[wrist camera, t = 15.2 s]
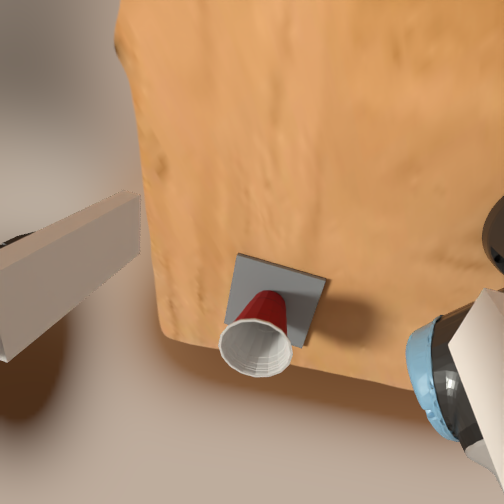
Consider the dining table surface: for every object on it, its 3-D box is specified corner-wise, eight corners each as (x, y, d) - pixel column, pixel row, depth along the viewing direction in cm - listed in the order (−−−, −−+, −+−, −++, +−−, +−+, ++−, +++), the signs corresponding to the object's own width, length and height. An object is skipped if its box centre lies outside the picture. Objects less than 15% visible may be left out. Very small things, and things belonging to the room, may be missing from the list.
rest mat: (325, 278, 54) (325, 281, 54) (302, 345, 61) (301, 348, 61) (238, 252, 56) (236, 255, 56) (225, 320, 63) (224, 323, 63)
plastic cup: (300, 333, 59) (290, 386, 49) (241, 324, 62) (220, 372, 51) (303, 280, 55) (293, 327, 44) (240, 273, 57) (216, 315, 47)
